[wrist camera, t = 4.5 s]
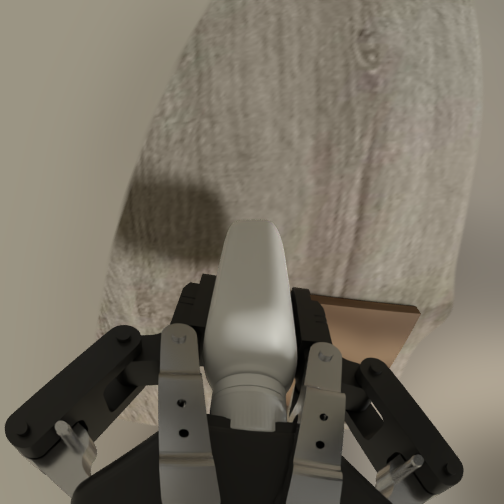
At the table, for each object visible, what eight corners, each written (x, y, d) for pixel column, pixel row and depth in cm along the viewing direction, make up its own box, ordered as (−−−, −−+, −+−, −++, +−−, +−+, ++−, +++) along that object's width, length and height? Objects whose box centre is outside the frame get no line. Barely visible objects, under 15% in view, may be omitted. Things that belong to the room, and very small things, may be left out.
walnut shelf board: (301, 293, 21) (307, 320, 19) (416, 306, 22) (430, 329, 19) (265, 404, 28) (265, 428, 25) (355, 407, 28) (360, 429, 26)
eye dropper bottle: (198, 283, 18) (146, 484, 7) (241, 203, 15) (208, 430, 5) (263, 312, 19) (263, 507, 8) (314, 240, 16) (377, 457, 6)
